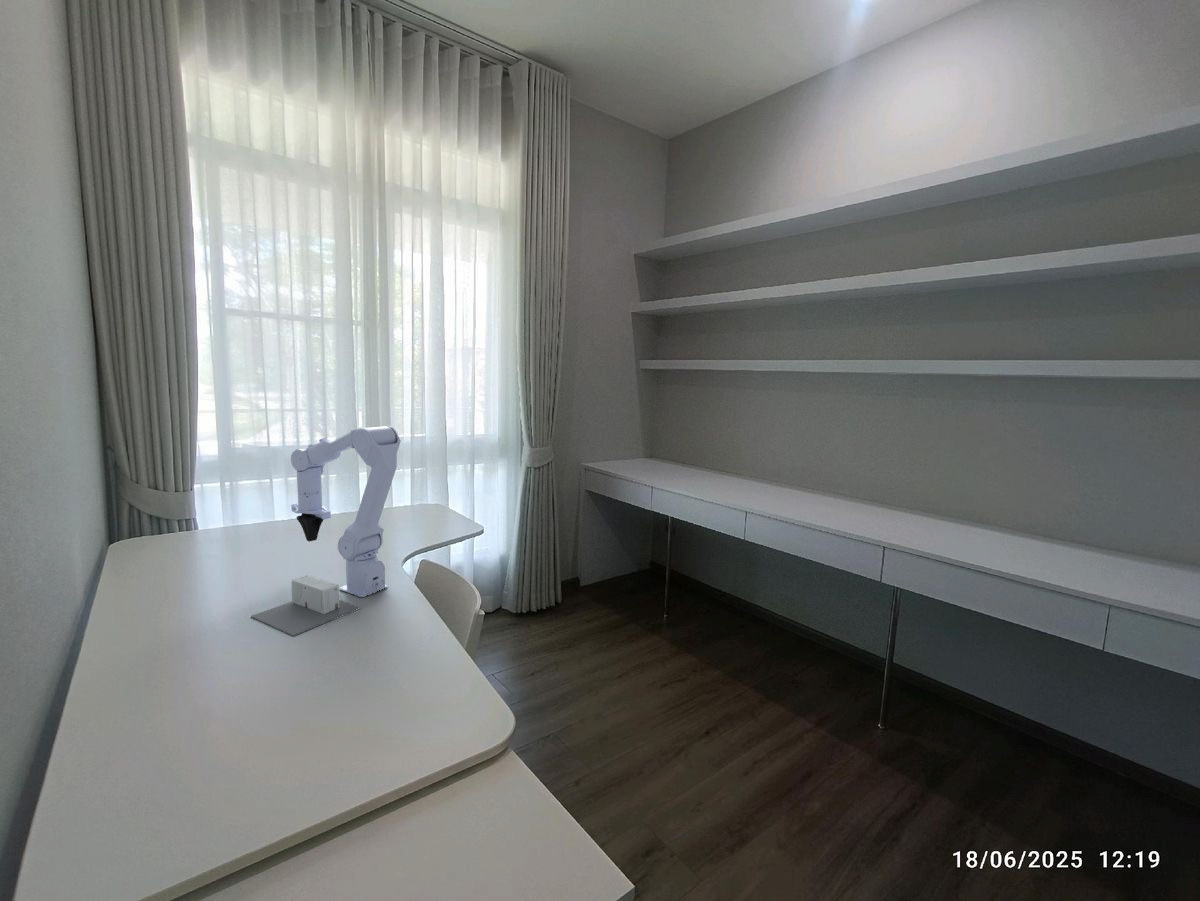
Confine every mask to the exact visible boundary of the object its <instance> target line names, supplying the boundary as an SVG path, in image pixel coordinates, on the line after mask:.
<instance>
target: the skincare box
mask: <svg viewBox="0 0 1200 901" xmlns="http://www.w3.org/2000/svg"><path fill="white" fill-rule="evenodd" d="M339 588H340V586H339V584H336V583H333V582H331V581H327V580H324V579H321V578H319V577H315V576H312V575H310V574H307V575H303V576H300V577H297V578H294V579H292V580H291V600H292V601H293V603H295V604H297V605H300V606H303V607H306V608H308V609H311V610H314V611H317V612H319V613H322V614H326V613H328V612H331V611H333V610H335V609H338V608H339V600H340V599H341V598H340V589H339ZM292 601H291V602H292Z"/></svg>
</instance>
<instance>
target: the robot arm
mask: <svg viewBox="0 0 1200 901" xmlns="http://www.w3.org/2000/svg"><path fill="white" fill-rule="evenodd" d="M400 445H401V439H400V436H399V434H398V431H397V430H396V429H395V428H394V426H391V425H384V426H375V427H374V426H373V427H359V428H356V429H352V430H350V432H348V433H346V434H344V435H341V436H340V437H338V438H336V439H335V440H334V439H331V438H326V437H323V438H319V442H318V443H315V444H314V443H312V444H308V445H307V447H306V448H296V449H295V450H293V452H292V453H291V455H290V463H291V466H292V467H293V469H295V471H296V481H297V482H296V485H297V503H293V504H290V505H291V512H293V513H295V514H299V515H297V516H296V520H297V521H298V523H299V524H300V526H301V529H302V531H303V533H304V535H305V539H306V541H307V542H313V541H316V540H318V538H319V536H318V535H319V532H320V528H321V526H322V523H323V522H324V520H328V519H331V517H332V516H331V510H328V509H327V508H325V506H323V491H322V488H323V487H322V475H323V473H324V466H325V465H326V464H328V463H331V462H333V461H335V460H337V459H339V458H340V456H341V454H342V452H344V451H348V450H350V449H354V450H355V451H356V453H357V454H358V456H359V457H360V458H361V460H362V461H363V462H364V464H366V465H367V466H369V467H370V473H369V476H368V479H367V482H366V485H365V489H364V491H363V495H362V497H361V501H360V504H359V507H358V511H357V514H356V515H355V516H356V517H355V520H354V521H353V522H352V523H351V524H350V525H348V527H347V528H346V529H345V530H344V532H343V535H342V536H341V537H340V538H338V541H337V550H338V553H339V554H340V556H341V557H342V558H343V560H345V572H346V584H345V585H343V586H339V591H343V592H346V593H347V594H350V595H353V594H354V596H355V597H359V598H365V597H367V595H368V596H370V595H372V593H373V594H375V593H377V591H378V592H379V590H380V591H383V590H385V589H387V587H388V588H389V585H387V584H386V567H385V564H384V562H383V561H382V560H380V559H379V558H378V556H377V554H379V549H381V547H382V546H383V541H384V540H383V533H384V528H383V526H382V525H381V524H380V523H379V522H380V519H381V517H382V516H381V515H382V513H383V510H384V507H385V504H386V500H387V499H388V498H387V497H388V494H389V491H390V488H391V486H392V482H393V479H394V476H395V474H396V470H397V466H398V461H397V460H398V459H397V458H398V456H397V455H398V451H399V448H400ZM300 514H301V515H300ZM384 588H385V589H384ZM382 589H383V590H382Z"/></svg>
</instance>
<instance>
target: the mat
mask: <svg viewBox="0 0 1200 901" xmlns="http://www.w3.org/2000/svg"><path fill="white" fill-rule="evenodd" d="M358 608H360V606H356V605H354V604H351V603H349V602H346V601H343V600H340V599H339V608H338V609H335V610H333V611H331V612H328V613H326V614H322V613H319V612H317V611H314V610H311V609H308V608H306V607H303V606H300V605H297V604H295V603H293V601H289V602H287V603H284V604H281V605H278V606H275V607H273V608H269V609H267V610H264V611H261V612H258V613H256V614H252V615H251V616H250V618H251V619H252V618H253V619H255V620H256V621H259V622H262V623H263V624H265V625H267V626H270V627H271V628H274V629H276V630H278V631H280V632H283V633H285V634H287V635H290V636H292V637H296V636H299V635H300V634H304V633H305V632H308V631H310V630H313V629H315V628H317V627H320V626H321V624H322V625H324V623H325V624H327V623H329V622H331V621H330V620H332V621H334V620H336V619H338V618H337V617H339V618H341V617H343V616H342V615H344V616H345V614H346V615H348V614H351V613H353V612H355V611H354V610H356V609H358ZM358 610H359V609H358ZM352 611H353V612H352ZM356 611H357V610H356ZM350 612H351V613H350ZM347 613H348V614H347ZM340 616H341V617H340ZM335 618H336V619H335ZM333 619H334V620H333ZM328 621H329V622H328ZM326 622H327V623H326ZM319 625H320V626H319Z"/></svg>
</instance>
